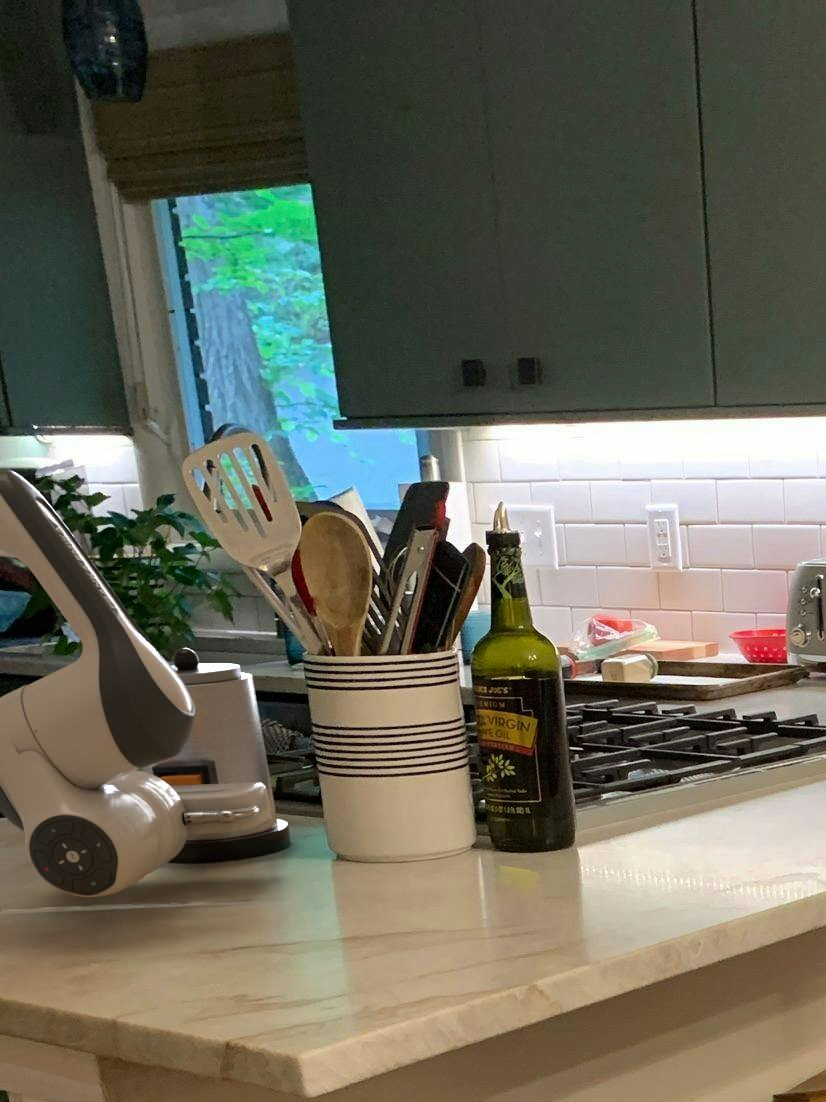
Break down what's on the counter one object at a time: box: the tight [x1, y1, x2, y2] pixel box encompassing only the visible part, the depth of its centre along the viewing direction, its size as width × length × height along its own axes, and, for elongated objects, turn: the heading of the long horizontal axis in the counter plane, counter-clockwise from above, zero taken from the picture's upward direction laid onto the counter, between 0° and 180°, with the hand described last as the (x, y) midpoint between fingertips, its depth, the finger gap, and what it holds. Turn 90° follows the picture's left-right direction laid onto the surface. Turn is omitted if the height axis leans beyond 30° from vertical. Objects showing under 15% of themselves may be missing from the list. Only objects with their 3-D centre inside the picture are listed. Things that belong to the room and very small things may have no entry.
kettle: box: [143, 647, 292, 864], centre depth 197 cm, size 18×14×20 cm
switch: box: [160, 774, 203, 786], centre depth 190 cm, size 2×4×4 cm, turn 94°
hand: (179, 796), depth 189 cm, fingers closed
